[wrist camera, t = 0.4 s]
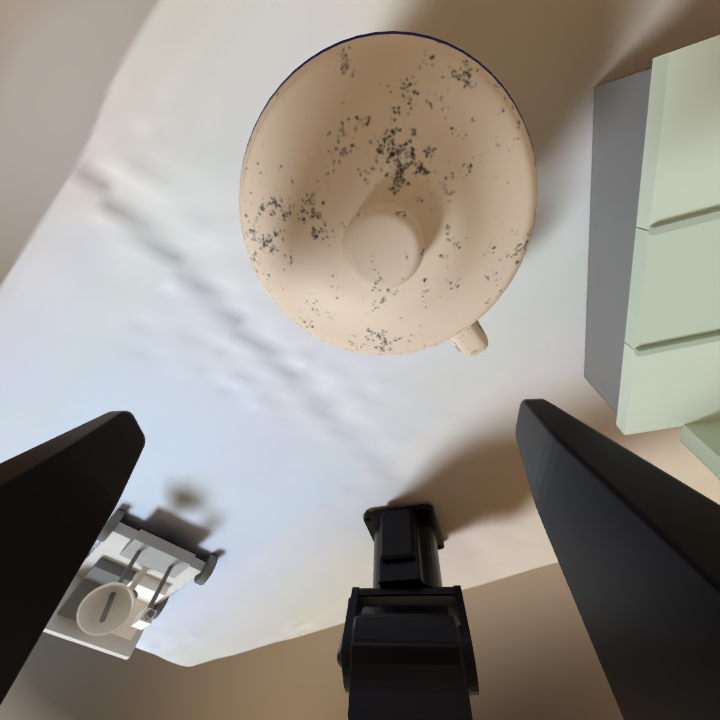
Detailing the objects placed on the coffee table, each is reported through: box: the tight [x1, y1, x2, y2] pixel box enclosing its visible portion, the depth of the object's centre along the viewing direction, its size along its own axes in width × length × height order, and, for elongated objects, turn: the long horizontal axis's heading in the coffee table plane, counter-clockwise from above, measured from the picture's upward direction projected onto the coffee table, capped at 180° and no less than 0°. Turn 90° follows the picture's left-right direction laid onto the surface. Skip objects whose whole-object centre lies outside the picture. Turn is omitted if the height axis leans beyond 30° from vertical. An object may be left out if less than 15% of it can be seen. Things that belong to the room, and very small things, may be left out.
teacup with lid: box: [239, 31, 537, 356], centre depth 13 cm, size 12×9×12 cm
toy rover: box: [43, 509, 218, 660], centre depth 35 cm, size 18×10×12 cm
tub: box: [584, 67, 652, 414], centre depth 16 cm, size 16×9×4 cm, turn 17°
